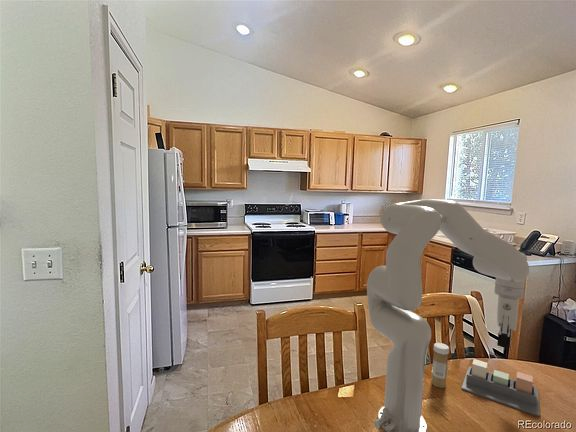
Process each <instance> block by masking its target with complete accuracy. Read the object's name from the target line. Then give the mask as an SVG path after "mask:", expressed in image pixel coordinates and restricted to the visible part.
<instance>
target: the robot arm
mask: <svg viewBox="0 0 576 432" xmlns="http://www.w3.org/2000/svg"><path fill="white" fill-rule="evenodd" d="M380 223H381V225H382V228H384V230H385V231H387V232H388V233H391V234H393V235H396V236H395V237H394V238H393V239H392V241H391V242H390V243H389V245H388V247H387V249H386V253H385V265H379V266H378V265H377V266H376V267H375V268H373V269H372V270H371V271H370V273H369V275H368V277H367V280H366V294H367V295H366V296H367V305H368V315H369V316H368V317H369V320H370V321H369V322H370V323H371V325H372V327H373V328H374V329H375V331H377V332H378V333H380V334H381V335H383V336H384V337H385V338H387V339H388V340H389V341H391V342H392V343H393V347H392V349H391V350H390V351H389V353H388V355H387V358H386V372H385V386H384V387H385V388H384V404H383V405H384V406H382V407H381V408H380V409H379V410H378V412H377V418H376V419H375V420H374V421H373V427H374V428H375V429H377V430H378V429H380V428H382V429H383V430H384V431H385V432H427V428H428V427H427V426H428V425H427V423H426V420H425V419H424V417H423V416H422V409H423V408H422V407H423V391H424V381H425V379H424V378H425V365H426V357H427V352H428V349H429V345H430V342H431V337H432V329H431V326H430V325H429V324H430V323H428V322H427V321H426V319H425V318H424V317H422V316H420V315H419V314H418V313H415V312H413V311H416V310H417V309H418V308H419V307H420V306H421V303H422V301H423V283H422V282H423V281H422V265H421V264H422V261H421V260H422V255H423V253H424V250H425V248H426V247H427V245H428V244H429V243H430V242H431V240H432V239H434V237H435V236H436V235H437V234H438V233H439V231H440V232H441V233H442V234H443V235H444V236H445V237H446V238H447V239H448V240H449V241H451V243H452V244H454V246H455V247H456V248H457V249H458V250H460V251H462V252H463V253H466V254H468V255H470V256H473V259H472V266H473V268H474V270H476V271H477V272H478V273H480V274H483V275H485V276H490V277H494V278H495V280H494V294H495V295H497V296H498V298H497V308H496V309H497V312H496V323H497V327H498V328H499V330H498V332H497V333H498V334H497V346H498V347H500V348H504V349H510V345H511V337H512V336H511V330H512V331H514V332H515V331H517V324H518V316H519V306H520V305H519V304H520V299H521V300H522V299H524V294H525V293H524V292H525V284H526V283H525V282H526V279H527V278H528V276H529V274H530V273H529V272H530V265H529V262H528V256H527V255H526V254H525V253H524V252H521V251H520V250H519V249H518V248H517V247H516V246H515V245H513V244H512V243H509V242H508V241H506V240H504V239H502V238H501V237H499V236H497V235H496V234H493V233H492V232H489V231H488V230H486V229H484V228H483V227H482V226H481V225H480V223H478V222H477V220H476V219H474V217H473V216H472V215H471V214H470V213H469V212H468V211H467V210H466V208H464V207H463V205H462V204H461V203H459V202H457V201H454V200H450V199H432V198H427V199H426V198H425V199H424V198H423V199H416V200H411V201H404V202H395V203H392V204H389V205H388V206H386V207H385V208H384V210H383V211H382V213H381V216H380Z"/></svg>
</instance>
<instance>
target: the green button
mask: <svg viewBox="0 0 576 432" xmlns="http://www.w3.org/2000/svg"><path fill="white" fill-rule="evenodd" d="M493 373H494V374H493V382H495V383H498V384H501V385H504V386H507V387H508V378H509V377H510V374H509V373H506V372H503V371H500V370H496V369H493Z"/></svg>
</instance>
